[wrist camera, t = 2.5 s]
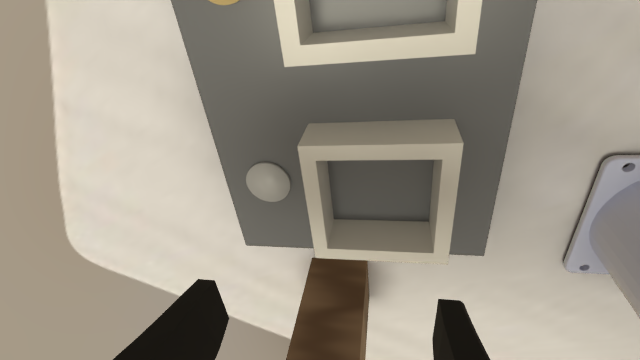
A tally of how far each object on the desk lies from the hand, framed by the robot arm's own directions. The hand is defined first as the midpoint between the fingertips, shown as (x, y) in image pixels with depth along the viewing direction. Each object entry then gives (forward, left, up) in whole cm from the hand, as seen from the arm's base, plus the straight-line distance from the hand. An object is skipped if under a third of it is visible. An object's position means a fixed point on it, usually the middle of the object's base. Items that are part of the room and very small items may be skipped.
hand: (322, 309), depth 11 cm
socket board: (0, -4, -10) cm, 11 cm away
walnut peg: (+1, +11, -10) cm, 15 cm away
